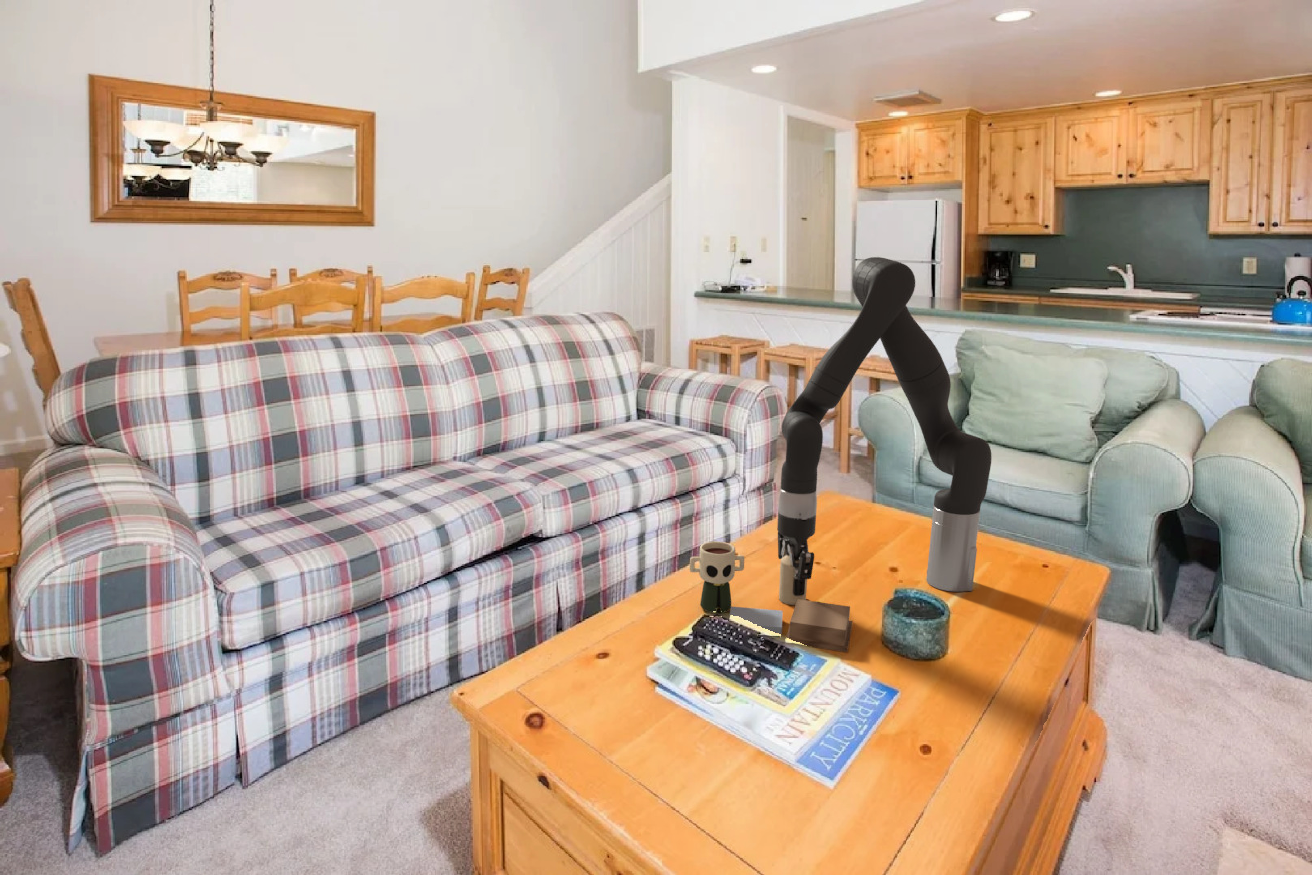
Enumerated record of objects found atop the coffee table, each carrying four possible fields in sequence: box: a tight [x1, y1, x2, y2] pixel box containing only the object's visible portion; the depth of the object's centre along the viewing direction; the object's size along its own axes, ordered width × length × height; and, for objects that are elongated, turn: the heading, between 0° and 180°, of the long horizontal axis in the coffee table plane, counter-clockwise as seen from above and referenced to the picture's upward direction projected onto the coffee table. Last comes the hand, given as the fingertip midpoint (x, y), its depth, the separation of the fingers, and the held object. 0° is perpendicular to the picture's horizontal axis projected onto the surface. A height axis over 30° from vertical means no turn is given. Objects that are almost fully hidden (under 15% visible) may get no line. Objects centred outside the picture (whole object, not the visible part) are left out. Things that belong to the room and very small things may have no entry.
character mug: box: [689, 541, 745, 613], centre depth 160 cm, size 11×7×13 cm, turn 96°
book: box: [729, 605, 784, 634], centre depth 154 cm, size 10×7×2 cm
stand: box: [785, 599, 853, 653], centre depth 151 cm, size 11×11×4 cm
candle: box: [778, 555, 808, 606], centre depth 164 cm, size 6×6×10 cm
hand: (792, 588), depth 165 cm, fingers closed on candle, 5 cm apart
